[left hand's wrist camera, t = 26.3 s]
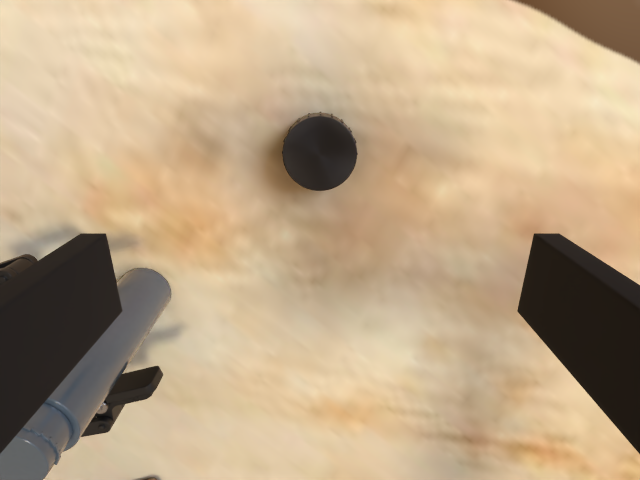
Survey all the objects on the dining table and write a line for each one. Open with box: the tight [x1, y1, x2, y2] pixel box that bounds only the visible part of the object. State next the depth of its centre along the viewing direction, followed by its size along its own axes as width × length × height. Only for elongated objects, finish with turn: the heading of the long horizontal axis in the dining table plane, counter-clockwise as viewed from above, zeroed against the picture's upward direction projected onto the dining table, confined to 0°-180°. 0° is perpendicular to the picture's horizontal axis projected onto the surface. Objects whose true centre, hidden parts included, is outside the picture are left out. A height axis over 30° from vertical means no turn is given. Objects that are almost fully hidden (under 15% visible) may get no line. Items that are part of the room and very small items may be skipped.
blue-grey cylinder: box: [0, 268, 171, 480], centre depth 27 cm, size 4×4×16 cm
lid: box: [282, 112, 357, 191], centre depth 28 cm, size 5×5×2 cm
